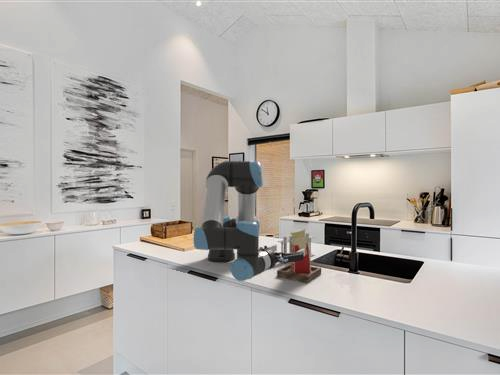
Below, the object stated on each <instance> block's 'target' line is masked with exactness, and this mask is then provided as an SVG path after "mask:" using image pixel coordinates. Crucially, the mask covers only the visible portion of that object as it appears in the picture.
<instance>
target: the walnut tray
mask: <svg viewBox="0 0 500 375" xmlns="http://www.w3.org/2000/svg"><path fill="white" fill-rule="evenodd" d="M290 268H291V266H290V263H288V264H286V265H285V266H283V267H282V268H281V267H280V268H279V269H277V270H276V277H278V278H282V279H288V280H291V281H292V280H293V281H297V282H302V283H306V284H308V283H310V282H311V281H313V280H314V279H316V278H317V277H319V276H320V275H321V274H322V267H318V266H313V265H311V273H310V274H308V275H307V276H306V275H301V274H296V273H291V272H290Z"/></svg>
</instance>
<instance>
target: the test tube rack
mask: <svg viewBox="0 0 500 375" xmlns="http://www.w3.org/2000/svg"><path fill="white" fill-rule="evenodd" d="M305 235H306V239H307V243H308V246H309V252H310V258H311V257H315V254H314V253H312V247H311V246H312V243H311V242H312V239H314V238H315V236H312V235H310V233H309V232H305ZM277 243H280V244H281V245H280V246H281V247H280V248H281V249H280V250H281V252H283V253H291V244H292V235H289V238H288V237H287V236H283V240H278V241H277ZM288 243H289V245H288ZM288 246H289V252H287V251H288V249H287V248H288ZM280 256H281V258H282V254H280ZM280 263H282V264H284V263H283V262H280Z"/></svg>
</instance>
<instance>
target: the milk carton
mask: <svg viewBox="0 0 500 375" xmlns="http://www.w3.org/2000/svg"><path fill="white" fill-rule="evenodd" d="M289 234H290V236H292V244H291V253H296V252H297V251H299V250H301V249H305V256H304V260H302V261H295V262H289V264H290V266H291V268H290V272H291V273H296V274H301V275H306V276H307V275H308V274H310V273H311V266H312V262H311V257H310V252H309V246H308V243H307V239H306V229H305V228H304V229H301V230H299V231H293V232H290V233H289Z"/></svg>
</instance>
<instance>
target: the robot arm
mask: <svg viewBox="0 0 500 375" xmlns="http://www.w3.org/2000/svg"><path fill="white" fill-rule="evenodd" d="M262 174H263V172H262V164H261V162H259V161H256V160H255V161H253V160H249V161H248V160H238V161H237V160H234V161H233V160H231V161H230V160H226V161H221V162H220V163H218V164H217V165H215V166H214V167H213V168H211V170H210V171H209V172H208V173H207V176H206V180H205V186H206V187H205V188H206V195H205V201H204V202H205V203H204V208H203V215H202V222H201V226H200V227H195V229H194V231H193V247H194V249H196V250H200V251H201V250H203V251H208V254H207V260H208V261H211V262H214V263H225V262H230V261H232V263H231V265H230V273H231V275H232V277H233V278H234V280H236V281H239V282H245V281H247V280H251V279H252V278H254V277H256V276H258V275H261V274H263V273H264V272H267V271H269V270H272V269H274V267H275V266H276V264H277V263H281V262H283V263H282V264H286V265H287V264H290V262H295V261H302V260H304V256H305V249H301V250H299V251H297V252H296V253H289V252H287V253H284V251H283V252H279V251H278V249H277V248H278V247H277V246H278V245H277V244H273V245H271V246H267V245H263V247H262V246H260V247H259V243H260V241H259V239H260V238H259V237H260V235H259V234H260V227H261V226H260V224H261V223H260V219H259V218H257V217H256V214H255V211H256V198H257V197H256V196H257V195H256V194H257V192H258V191H259V189H260V188H262V187H263V175H262ZM228 188H234V189H235V190H236V192H237V207H238V208H237V210H238V211H237V212H238V213H237V216H236V217H235V218H233V217H232V215H224V214H225V200H226V199H225V198H226V191H227V189H228ZM235 250H236V254H235ZM277 251H278V252H277ZM281 254H282V258H281Z"/></svg>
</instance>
